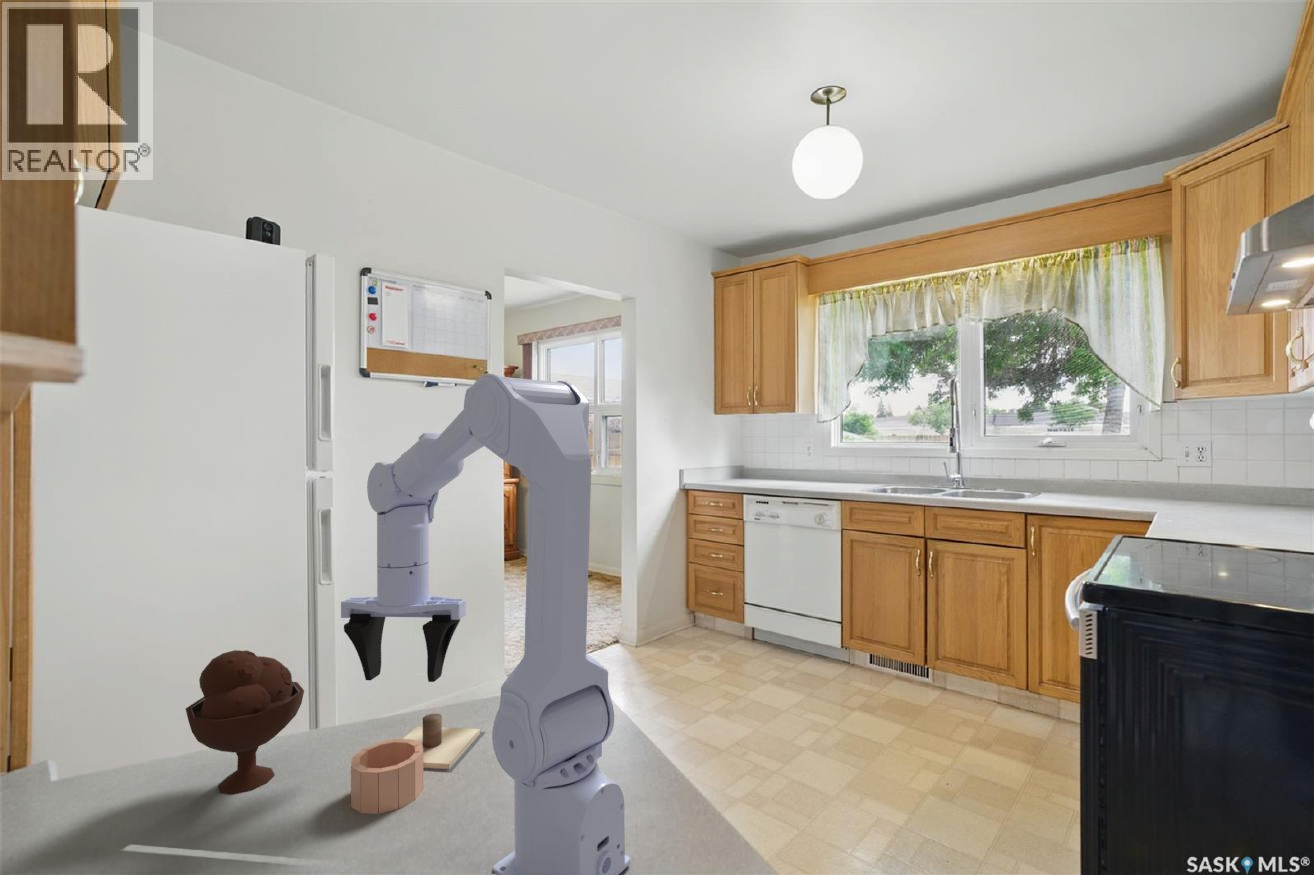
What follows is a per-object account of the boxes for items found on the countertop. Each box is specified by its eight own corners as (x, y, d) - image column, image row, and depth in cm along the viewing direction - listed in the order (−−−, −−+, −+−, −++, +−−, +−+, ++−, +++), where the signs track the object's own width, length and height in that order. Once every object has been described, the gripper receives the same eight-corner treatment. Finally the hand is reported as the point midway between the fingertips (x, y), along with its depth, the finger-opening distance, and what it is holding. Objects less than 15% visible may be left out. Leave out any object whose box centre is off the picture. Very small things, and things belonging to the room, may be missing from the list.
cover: (480, 733, 78) (480, 704, 78) (449, 769, 69) (449, 735, 70) (417, 730, 79) (417, 701, 79) (379, 765, 71) (379, 732, 71)
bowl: (436, 792, 66) (436, 750, 66) (374, 825, 60) (374, 779, 60) (399, 772, 70) (399, 733, 70) (338, 802, 64) (338, 759, 64)
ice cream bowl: (247, 818, 61) (248, 669, 61) (158, 806, 63) (158, 662, 64) (325, 764, 72) (325, 637, 72) (245, 755, 74) (246, 632, 74)
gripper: (475, 557, 76) (475, 667, 75) (364, 557, 77) (364, 664, 77) (451, 569, 68) (451, 689, 68) (329, 568, 70) (329, 686, 69)
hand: (403, 678), depth 72 cm, fingers open, 7 cm apart
